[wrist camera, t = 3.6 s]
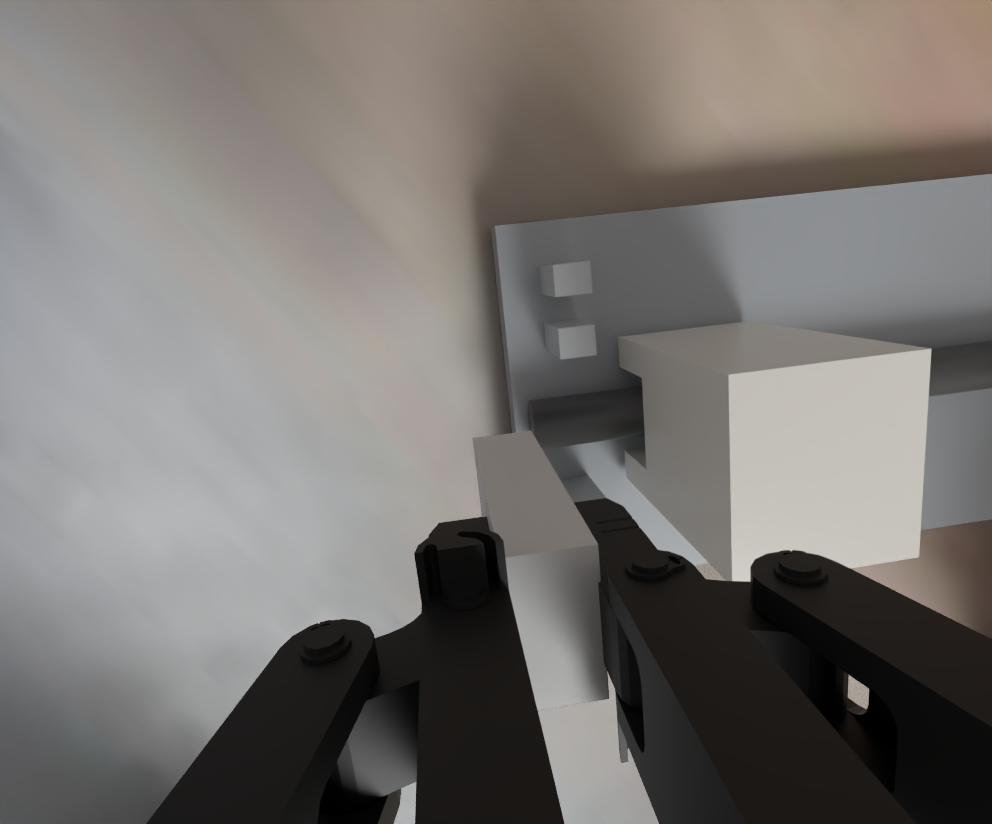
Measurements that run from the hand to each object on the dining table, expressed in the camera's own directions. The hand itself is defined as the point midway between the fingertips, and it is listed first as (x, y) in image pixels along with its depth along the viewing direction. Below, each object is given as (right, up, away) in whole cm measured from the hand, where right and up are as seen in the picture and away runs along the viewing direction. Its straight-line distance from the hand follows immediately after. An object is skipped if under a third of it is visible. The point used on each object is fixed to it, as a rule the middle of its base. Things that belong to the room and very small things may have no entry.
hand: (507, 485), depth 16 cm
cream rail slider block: (+7, +2, +7) cm, 10 cm away
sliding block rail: (+14, +4, +10) cm, 17 cm away
